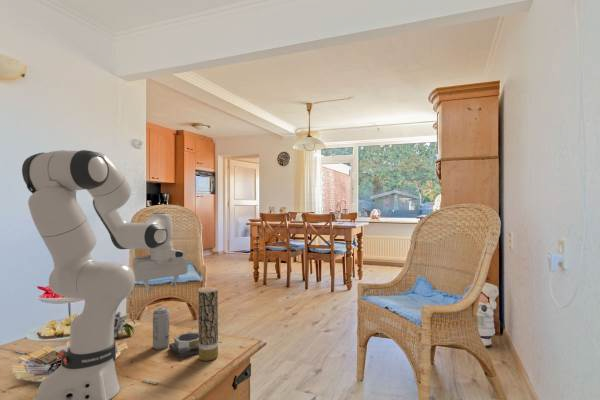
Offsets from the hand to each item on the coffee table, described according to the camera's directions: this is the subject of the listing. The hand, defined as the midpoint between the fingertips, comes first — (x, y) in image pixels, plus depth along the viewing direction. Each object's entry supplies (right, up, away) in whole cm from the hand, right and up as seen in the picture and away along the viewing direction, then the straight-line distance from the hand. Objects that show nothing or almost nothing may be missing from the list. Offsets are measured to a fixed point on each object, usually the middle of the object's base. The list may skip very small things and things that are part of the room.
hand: (161, 289), depth 134 cm
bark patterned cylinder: (+21, -23, -10) cm, 32 cm away
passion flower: (-23, -23, +11) cm, 35 cm away
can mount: (+12, -23, -3) cm, 26 cm away
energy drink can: (0, -23, 0) cm, 23 cm away
